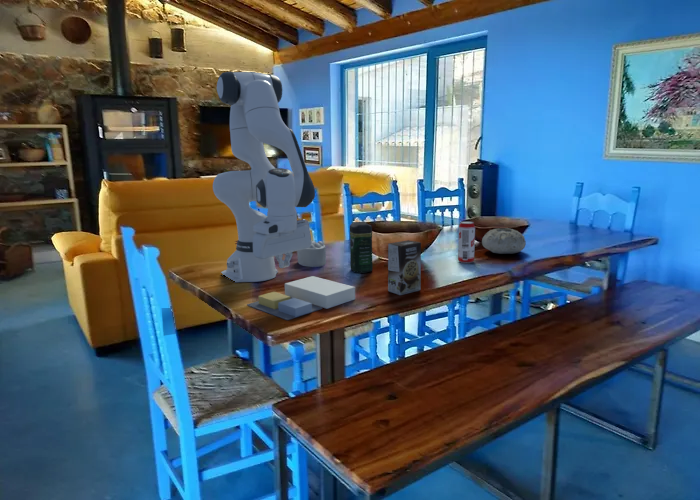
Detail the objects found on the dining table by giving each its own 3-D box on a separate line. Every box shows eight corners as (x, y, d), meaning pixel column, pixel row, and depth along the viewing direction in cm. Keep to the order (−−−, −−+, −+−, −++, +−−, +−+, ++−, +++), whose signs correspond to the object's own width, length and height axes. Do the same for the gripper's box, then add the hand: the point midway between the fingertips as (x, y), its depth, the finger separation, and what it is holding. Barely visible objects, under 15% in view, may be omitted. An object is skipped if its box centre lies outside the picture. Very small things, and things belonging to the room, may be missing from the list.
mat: (246, 305, 156) (246, 304, 156) (280, 295, 165) (280, 294, 165) (287, 320, 143) (287, 319, 142) (322, 308, 151) (322, 307, 151)
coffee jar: (375, 272, 191) (374, 223, 187) (354, 274, 189) (353, 224, 185) (368, 266, 200) (367, 219, 196) (348, 268, 198) (347, 220, 194)
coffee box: (400, 295, 162) (400, 246, 159) (387, 291, 167) (387, 243, 164) (421, 290, 167) (421, 242, 164) (408, 286, 172) (408, 239, 169)
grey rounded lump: (530, 257, 208) (532, 233, 206) (486, 258, 209) (487, 233, 207) (517, 248, 226) (519, 225, 224) (477, 248, 226) (478, 226, 224)
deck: (285, 295, 165) (284, 283, 164) (313, 287, 174) (312, 276, 173) (326, 308, 151) (326, 295, 151) (355, 299, 160) (354, 286, 159)
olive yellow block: (274, 291, 160) (274, 299, 161) (258, 295, 156) (258, 303, 157) (290, 296, 155) (290, 304, 155) (274, 301, 151) (274, 309, 151)
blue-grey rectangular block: (294, 297, 153) (294, 305, 154) (278, 302, 149) (278, 310, 150) (311, 303, 148) (312, 311, 148) (295, 308, 144) (296, 316, 144)
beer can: (457, 263, 201) (458, 223, 198) (458, 259, 207) (459, 220, 203) (473, 264, 199) (474, 223, 196) (474, 260, 205) (475, 221, 202)
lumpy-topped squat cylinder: (318, 258, 215) (317, 238, 214) (331, 264, 204) (330, 243, 202) (295, 261, 211) (294, 241, 209) (307, 268, 200) (306, 246, 198)
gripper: (302, 216, 164) (303, 258, 168) (248, 226, 150) (251, 271, 154) (315, 219, 160) (316, 262, 163) (261, 230, 146) (263, 276, 149)
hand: (284, 266), depth 158 cm, fingers closed
